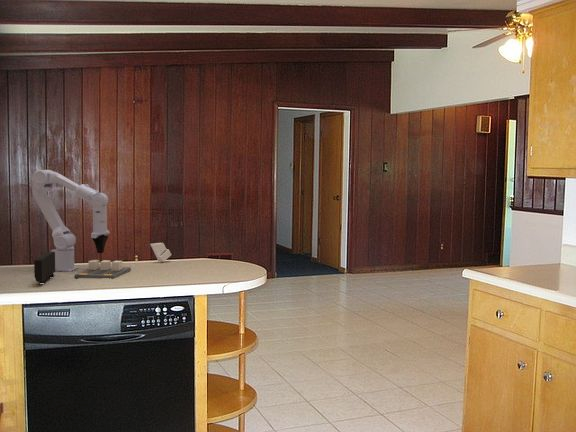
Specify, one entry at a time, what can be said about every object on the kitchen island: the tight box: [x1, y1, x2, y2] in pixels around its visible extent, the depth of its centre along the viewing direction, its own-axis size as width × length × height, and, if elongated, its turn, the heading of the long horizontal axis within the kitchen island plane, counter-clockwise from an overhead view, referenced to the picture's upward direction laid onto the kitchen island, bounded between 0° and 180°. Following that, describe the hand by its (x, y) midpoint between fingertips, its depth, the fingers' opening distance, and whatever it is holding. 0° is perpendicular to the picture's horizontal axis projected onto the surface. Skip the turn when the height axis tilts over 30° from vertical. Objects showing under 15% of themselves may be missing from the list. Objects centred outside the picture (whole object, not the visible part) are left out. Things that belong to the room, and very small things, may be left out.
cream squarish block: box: [111, 260, 123, 271], centre depth 238 cm, size 3×4×4 cm
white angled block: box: [149, 242, 172, 263], centre depth 271 cm, size 4×10×9 cm, turn 143°
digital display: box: [33, 251, 56, 284], centre depth 221 cm, size 21×3×10 cm, turn 10°
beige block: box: [87, 259, 100, 270], centre depth 239 cm, size 3×4×4 cm
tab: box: [99, 259, 112, 270], centre depth 238 cm, size 3×4×4 cm
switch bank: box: [74, 265, 132, 280], centre depth 237 cm, size 16×20×2 cm
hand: (100, 252), depth 245 cm, fingers closed
